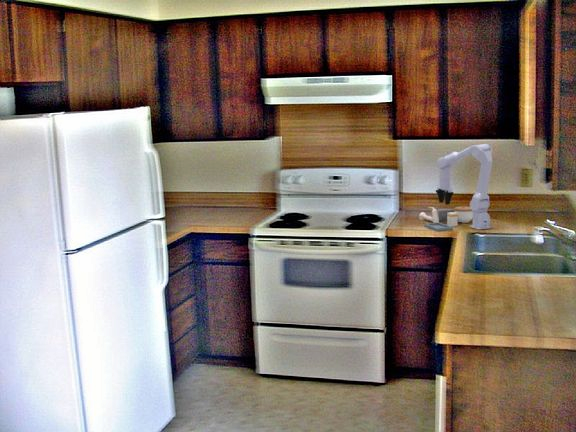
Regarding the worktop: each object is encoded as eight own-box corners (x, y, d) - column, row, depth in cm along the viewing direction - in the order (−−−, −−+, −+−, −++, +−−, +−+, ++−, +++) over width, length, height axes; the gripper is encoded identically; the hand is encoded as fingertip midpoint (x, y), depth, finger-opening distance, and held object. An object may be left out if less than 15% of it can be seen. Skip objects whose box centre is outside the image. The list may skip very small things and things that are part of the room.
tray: (452, 229, 395) (452, 227, 394) (437, 231, 392) (437, 228, 392) (439, 225, 409) (439, 222, 409) (424, 226, 406) (424, 223, 406)
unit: (452, 220, 421) (452, 209, 419) (438, 221, 418) (438, 211, 417) (447, 218, 426) (447, 208, 425) (433, 220, 424) (433, 209, 423)
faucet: (425, 227, 429) (422, 210, 431) (440, 221, 413) (437, 204, 414) (419, 227, 428) (416, 210, 429) (434, 222, 411) (431, 204, 413)
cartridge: (457, 226, 405) (457, 213, 404) (450, 226, 404) (450, 213, 402) (453, 224, 409) (453, 212, 407) (447, 225, 408) (447, 212, 406)
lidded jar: (450, 221, 419) (450, 204, 417) (466, 219, 423) (466, 202, 421) (460, 224, 409) (461, 207, 407) (477, 222, 413) (477, 205, 411)
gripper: (432, 177, 419) (432, 201, 421) (443, 181, 405) (443, 206, 407) (443, 177, 421) (443, 201, 423) (455, 180, 407) (455, 205, 409)
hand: (444, 203), depth 415 cm, fingers open, 7 cm apart
